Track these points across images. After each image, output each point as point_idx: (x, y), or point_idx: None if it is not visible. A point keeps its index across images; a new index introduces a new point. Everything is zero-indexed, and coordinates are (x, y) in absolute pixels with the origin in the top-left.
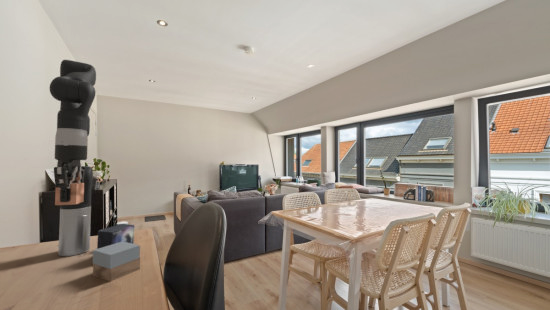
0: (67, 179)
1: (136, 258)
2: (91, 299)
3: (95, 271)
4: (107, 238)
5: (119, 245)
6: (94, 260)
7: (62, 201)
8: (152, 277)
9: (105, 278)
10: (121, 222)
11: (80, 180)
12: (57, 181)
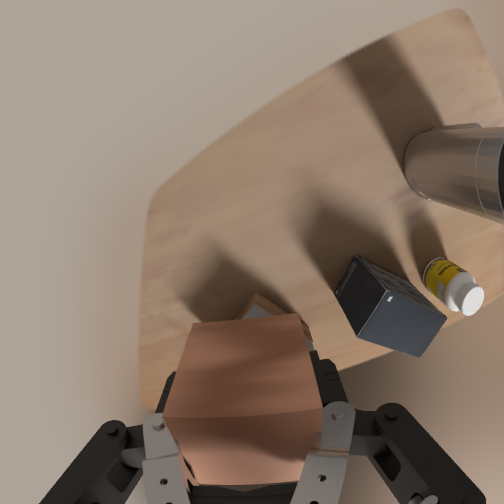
0: (129, 492)
1: None
2: (154, 331)
3: (250, 303)
4: (357, 313)
5: None
6: (249, 314)
7: None
8: None
9: None
10: (476, 297)
11: (373, 460)
12: (96, 456)
